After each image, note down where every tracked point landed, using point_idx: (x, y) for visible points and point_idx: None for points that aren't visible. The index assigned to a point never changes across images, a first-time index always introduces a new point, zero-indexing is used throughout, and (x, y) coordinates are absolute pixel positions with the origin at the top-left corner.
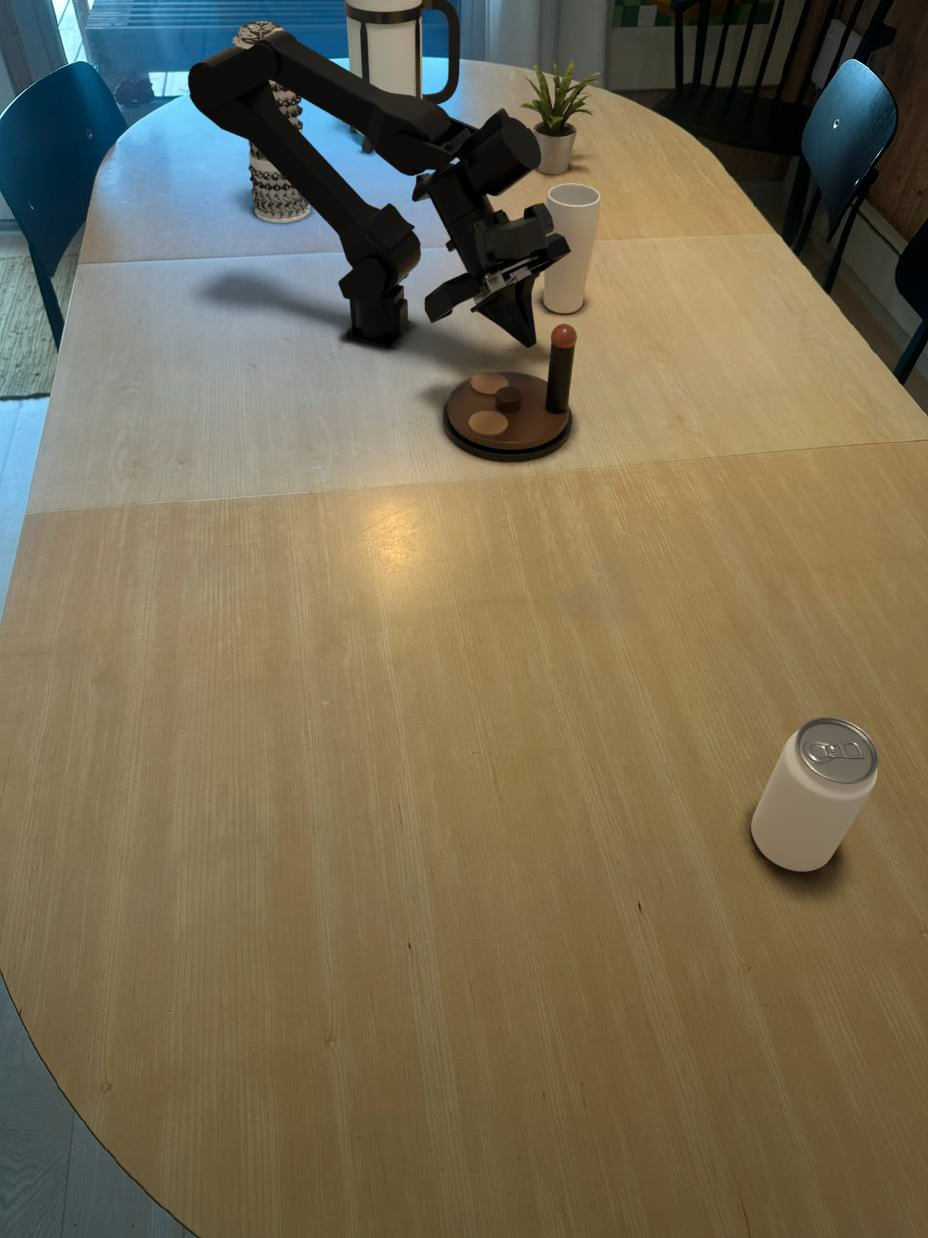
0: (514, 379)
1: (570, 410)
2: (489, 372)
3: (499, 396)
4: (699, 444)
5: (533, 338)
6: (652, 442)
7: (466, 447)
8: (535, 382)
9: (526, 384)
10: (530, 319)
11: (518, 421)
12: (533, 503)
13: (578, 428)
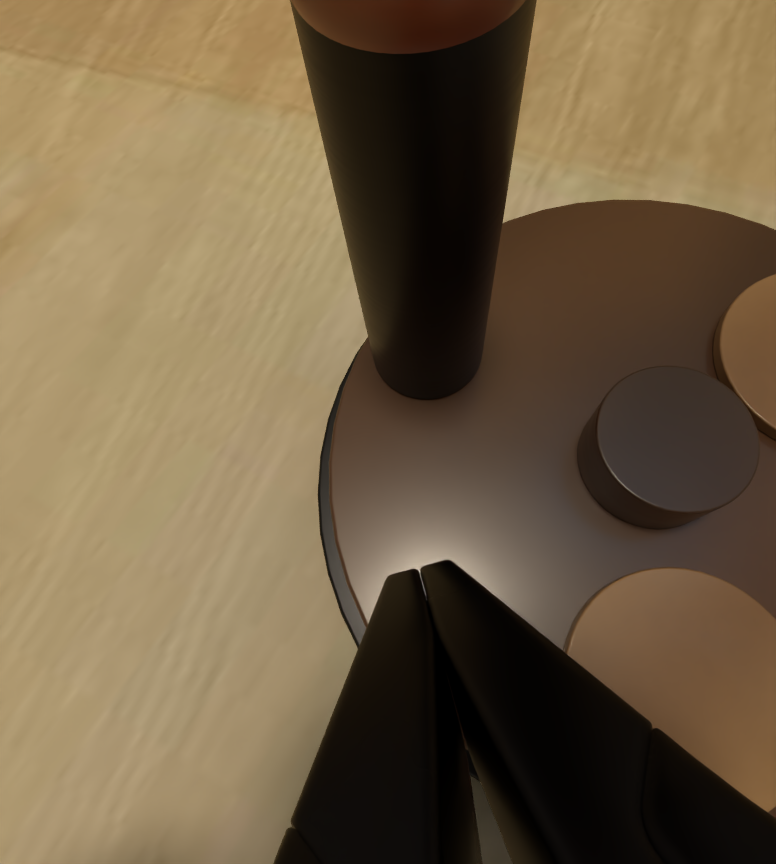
0: None
1: (341, 386)
2: None
3: (744, 437)
4: (66, 119)
5: (417, 588)
6: (181, 174)
7: None
8: None
9: None
10: (381, 735)
11: (653, 330)
12: (717, 75)
13: (357, 329)
